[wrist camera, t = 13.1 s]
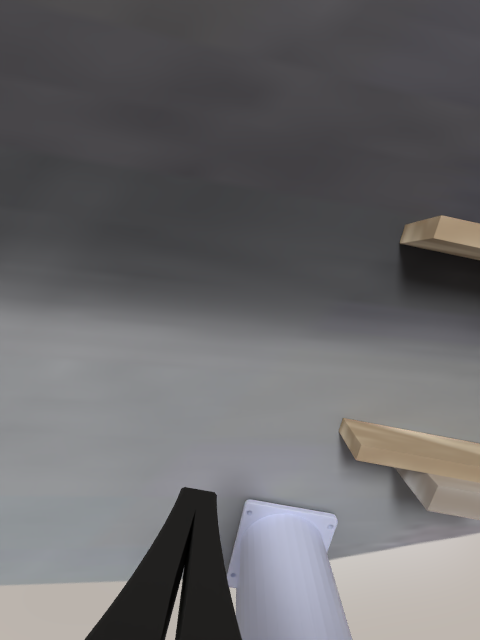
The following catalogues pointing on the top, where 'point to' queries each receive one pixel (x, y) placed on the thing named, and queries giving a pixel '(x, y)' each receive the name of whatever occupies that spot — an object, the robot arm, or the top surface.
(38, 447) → the top surface
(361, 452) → the guide channel
